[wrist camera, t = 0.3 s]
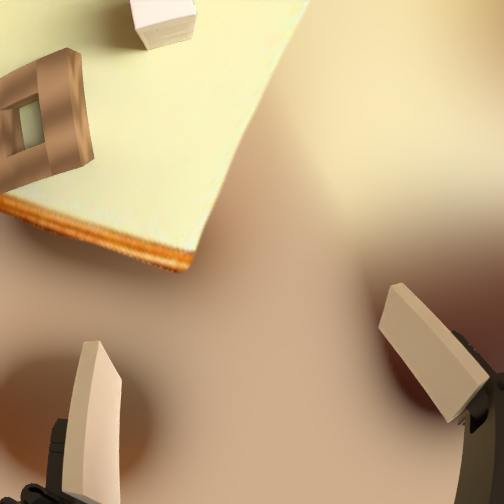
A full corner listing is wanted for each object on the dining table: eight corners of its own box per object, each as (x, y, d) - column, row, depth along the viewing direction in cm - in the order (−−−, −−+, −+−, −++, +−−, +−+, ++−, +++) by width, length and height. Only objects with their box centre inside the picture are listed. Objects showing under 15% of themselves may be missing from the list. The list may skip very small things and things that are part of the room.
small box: (136, 0, 22) (121, -35, 13) (181, -12, 23) (183, -50, 14) (146, 52, 26) (133, 31, 17) (192, 39, 27) (198, 14, 18)
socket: (-5, 92, 21) (-25, 93, 17) (81, 54, 24) (66, 47, 19) (10, 185, 28) (-8, 197, 24) (94, 158, 31) (82, 166, 26)
